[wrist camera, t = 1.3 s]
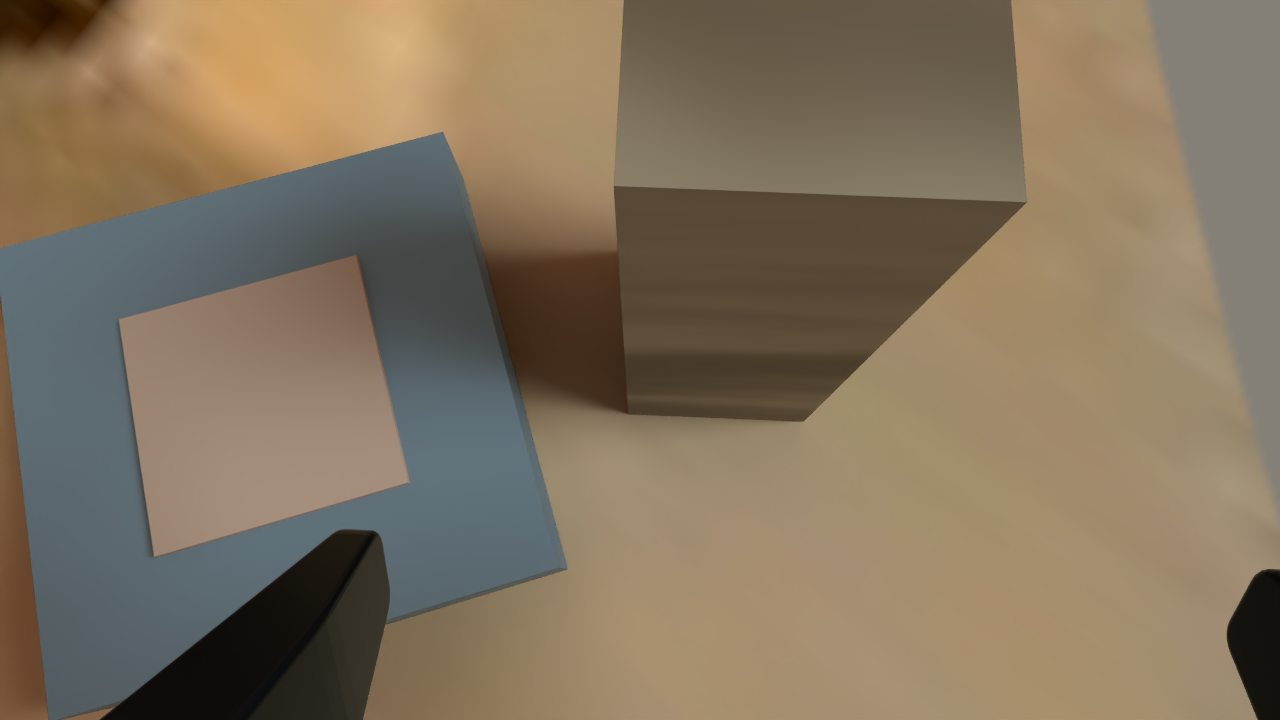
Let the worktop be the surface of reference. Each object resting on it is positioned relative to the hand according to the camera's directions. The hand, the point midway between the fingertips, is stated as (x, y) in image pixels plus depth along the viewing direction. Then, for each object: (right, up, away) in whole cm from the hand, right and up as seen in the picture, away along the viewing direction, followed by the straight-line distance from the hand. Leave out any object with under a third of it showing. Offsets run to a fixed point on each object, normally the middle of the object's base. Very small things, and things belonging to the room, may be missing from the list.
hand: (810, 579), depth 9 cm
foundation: (-10, +1, +13) cm, 17 cm away
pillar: (0, +3, +14) cm, 14 cm away
